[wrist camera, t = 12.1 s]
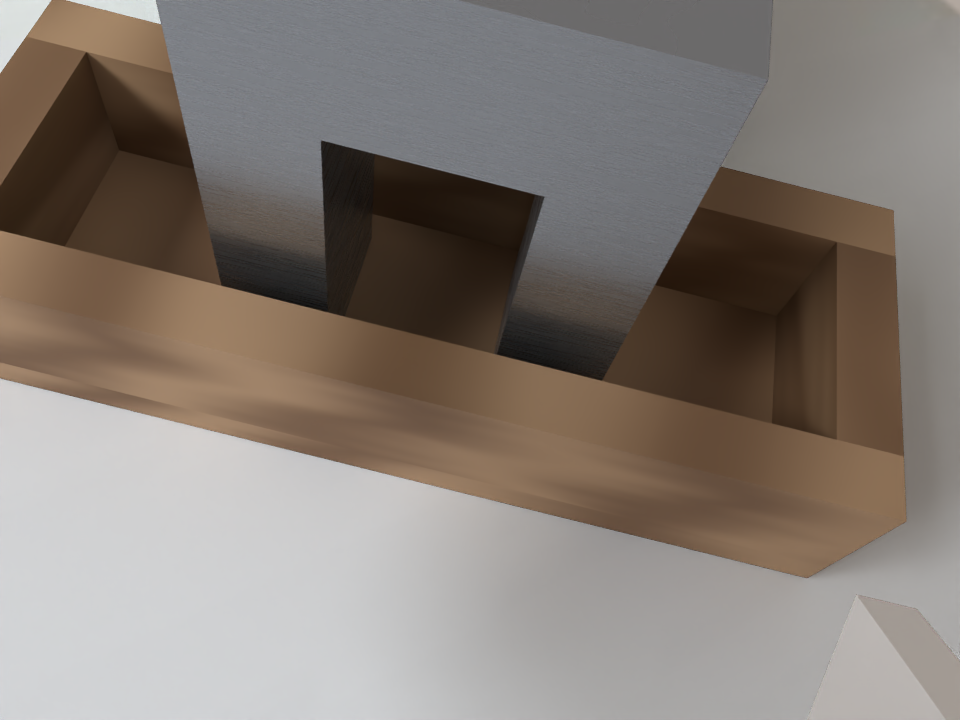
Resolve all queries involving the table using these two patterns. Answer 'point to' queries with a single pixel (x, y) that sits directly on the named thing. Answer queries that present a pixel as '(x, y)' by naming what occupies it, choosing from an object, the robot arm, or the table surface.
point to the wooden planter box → (456, 327)
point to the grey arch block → (467, 139)
